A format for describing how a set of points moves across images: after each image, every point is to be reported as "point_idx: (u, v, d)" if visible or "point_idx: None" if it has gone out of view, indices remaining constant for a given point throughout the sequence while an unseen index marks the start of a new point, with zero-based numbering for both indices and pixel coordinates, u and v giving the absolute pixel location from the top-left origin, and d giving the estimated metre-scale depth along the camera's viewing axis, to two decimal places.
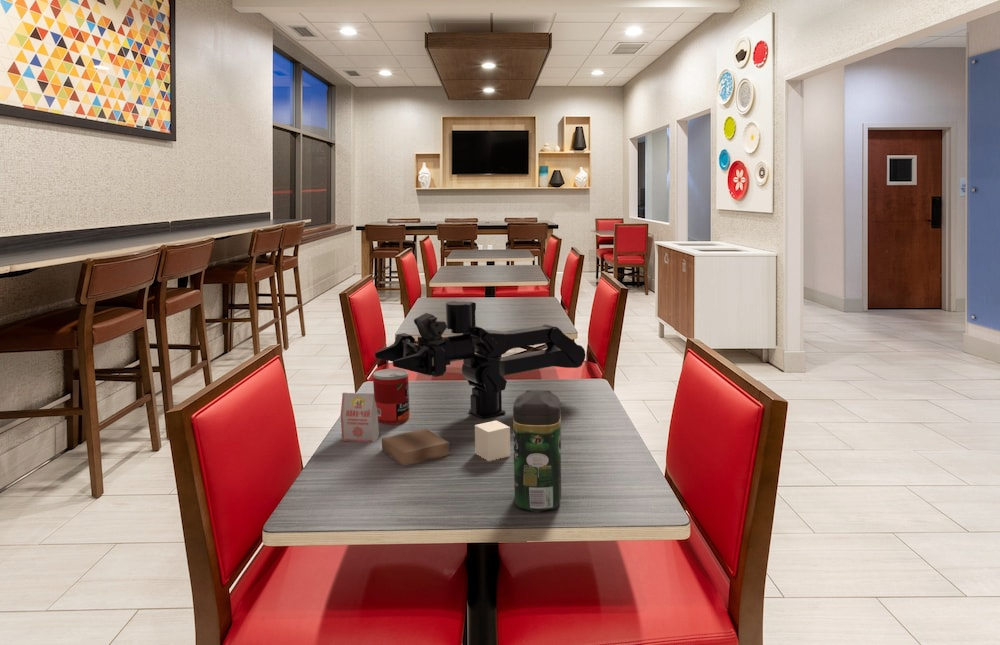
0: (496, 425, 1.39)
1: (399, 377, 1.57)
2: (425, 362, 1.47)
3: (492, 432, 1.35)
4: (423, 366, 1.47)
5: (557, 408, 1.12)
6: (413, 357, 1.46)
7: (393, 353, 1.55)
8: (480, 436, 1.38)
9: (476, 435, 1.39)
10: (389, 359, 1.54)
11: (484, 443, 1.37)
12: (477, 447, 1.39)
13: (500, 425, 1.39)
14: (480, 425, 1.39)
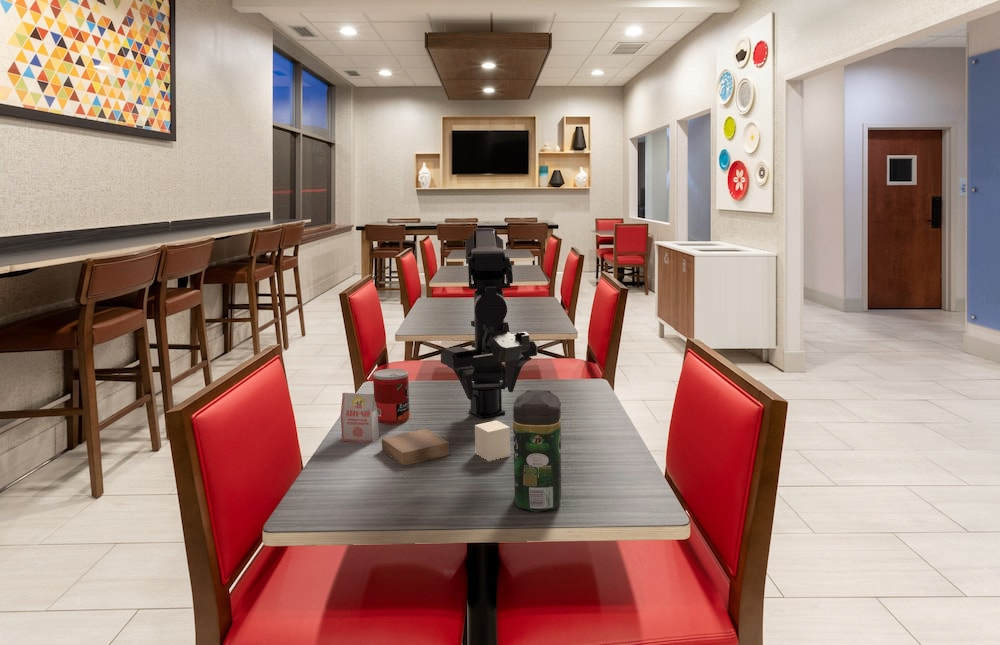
0: (496, 425, 1.39)
1: (399, 377, 1.57)
2: None
3: (492, 432, 1.35)
4: None
5: (557, 408, 1.12)
6: None
7: None
8: (480, 436, 1.38)
9: (476, 435, 1.39)
10: None
11: (484, 443, 1.37)
12: (477, 447, 1.39)
13: (500, 425, 1.39)
14: (480, 425, 1.39)
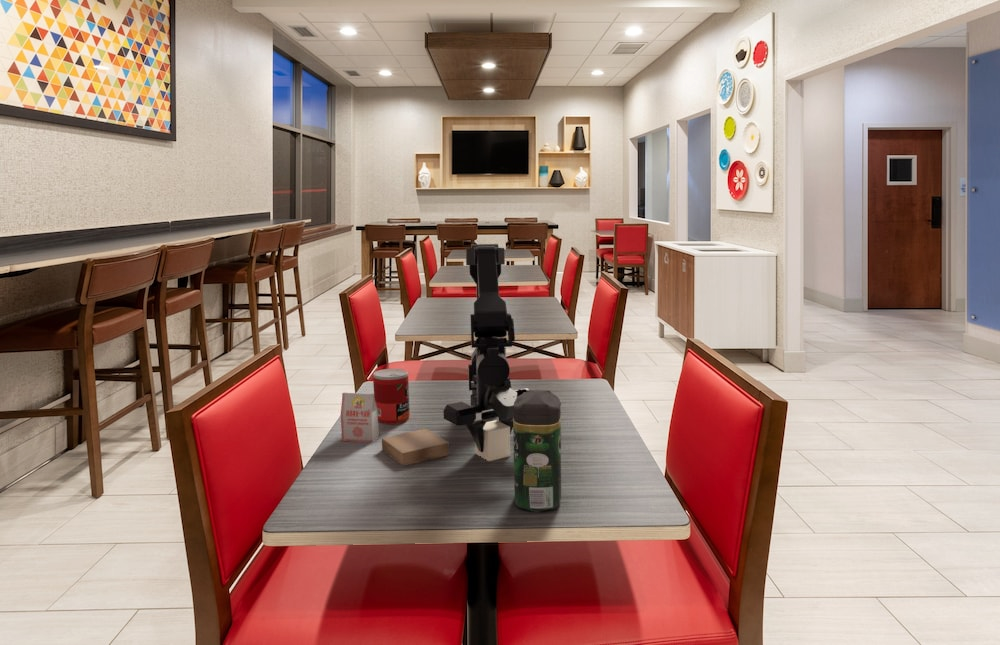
0: (496, 425, 1.39)
1: (399, 377, 1.57)
2: None
3: (492, 432, 1.35)
4: None
5: (557, 408, 1.12)
6: None
7: None
8: None
9: None
10: None
11: (484, 443, 1.37)
12: None
13: (500, 424, 1.39)
14: None
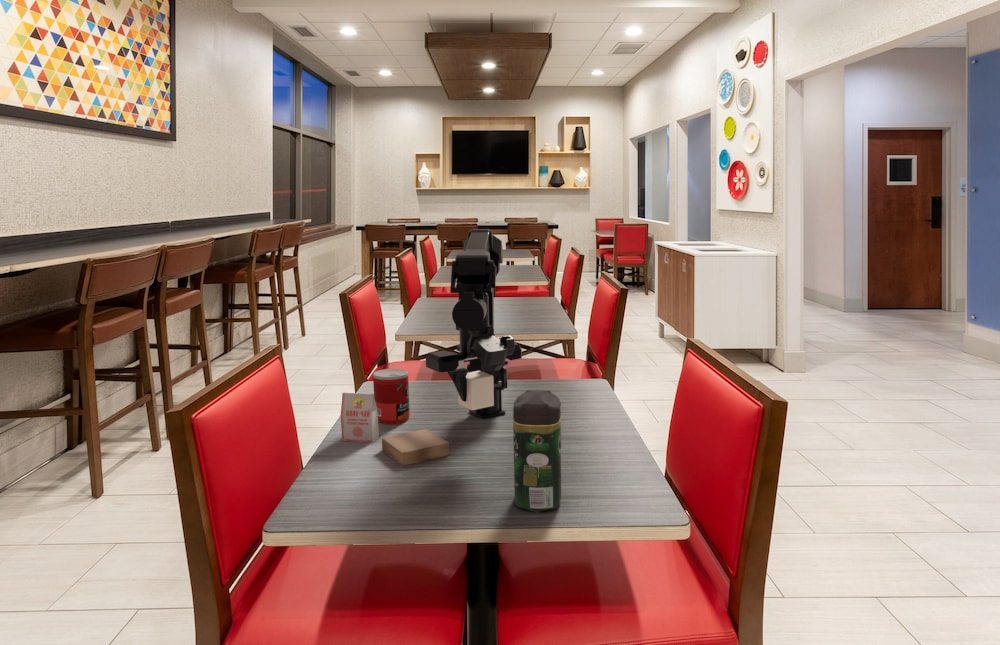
0: (479, 374, 1.37)
1: (399, 377, 1.57)
2: None
3: (475, 380, 1.34)
4: None
5: (557, 408, 1.12)
6: None
7: None
8: None
9: None
10: None
11: (467, 392, 1.35)
12: None
13: (483, 374, 1.37)
14: None
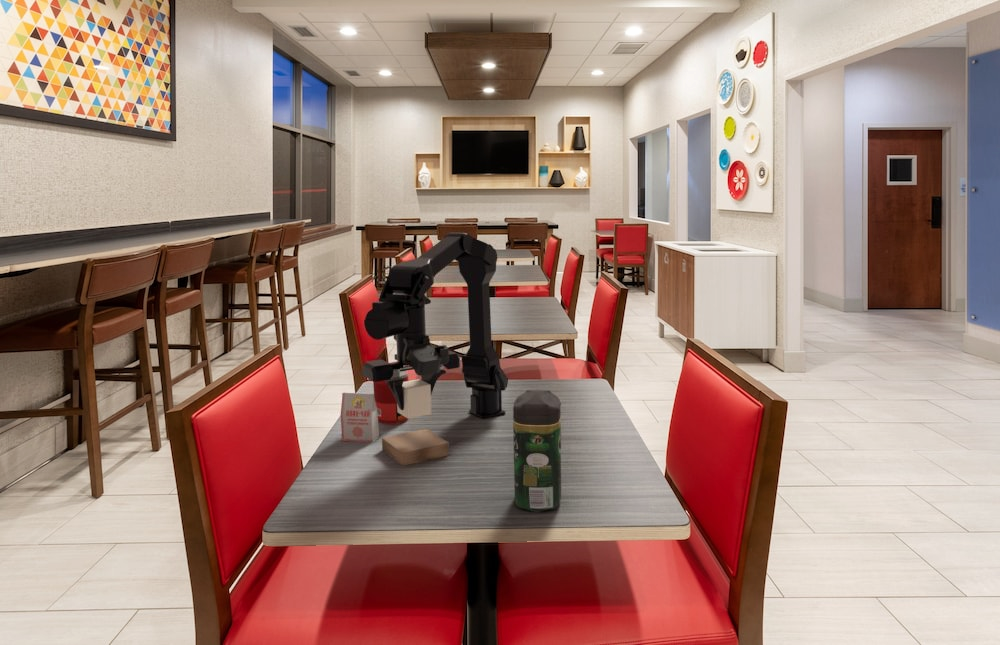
0: (417, 383, 1.39)
1: None
2: None
3: (412, 389, 1.36)
4: None
5: (557, 408, 1.12)
6: None
7: None
8: None
9: None
10: None
11: (404, 400, 1.37)
12: None
13: (421, 383, 1.39)
14: None
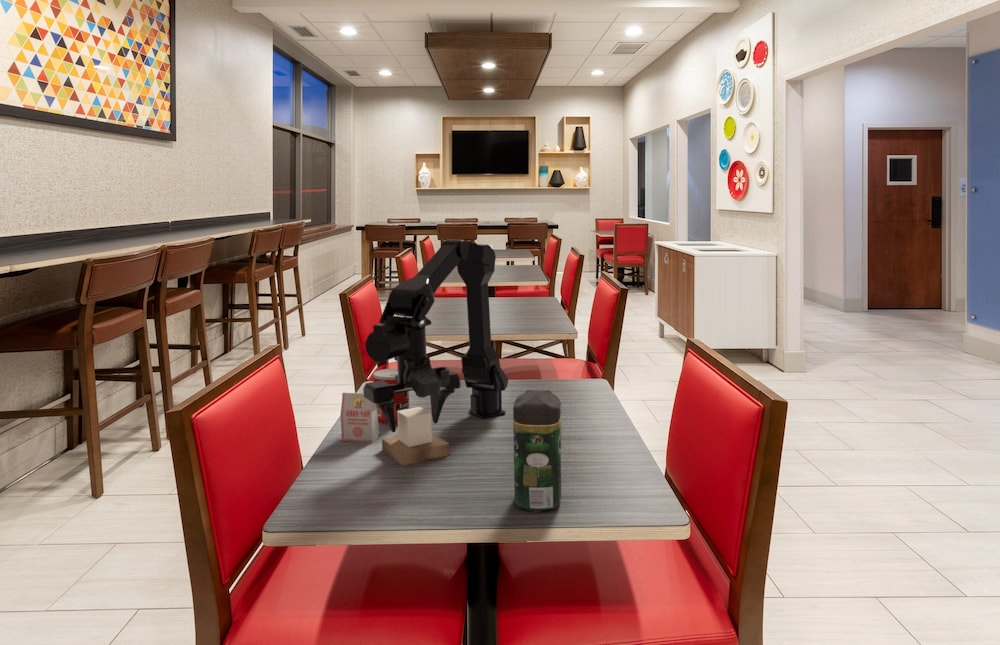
0: (418, 411, 1.40)
1: None
2: None
3: (412, 418, 1.37)
4: None
5: (557, 408, 1.12)
6: None
7: None
8: (401, 422, 1.39)
9: (398, 421, 1.40)
10: None
11: (404, 429, 1.38)
12: (399, 433, 1.40)
13: (421, 411, 1.40)
14: (402, 411, 1.40)
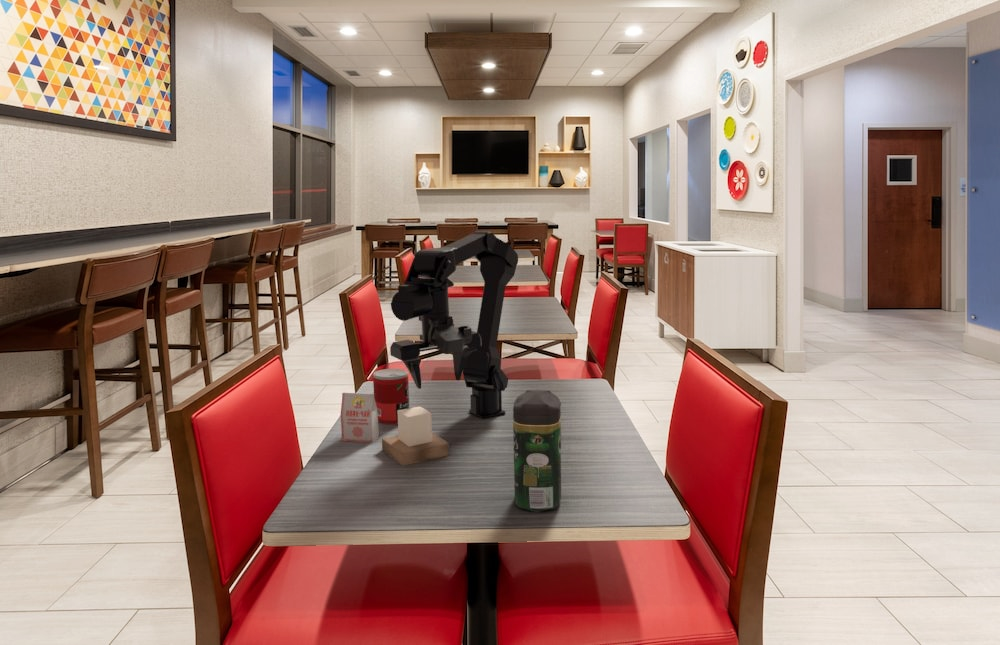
0: (418, 411, 1.40)
1: (399, 377, 1.57)
2: None
3: (412, 417, 1.37)
4: None
5: (557, 408, 1.12)
6: None
7: None
8: (401, 422, 1.39)
9: (399, 421, 1.40)
10: None
11: (405, 428, 1.38)
12: (400, 432, 1.41)
13: (422, 410, 1.40)
14: (402, 410, 1.40)
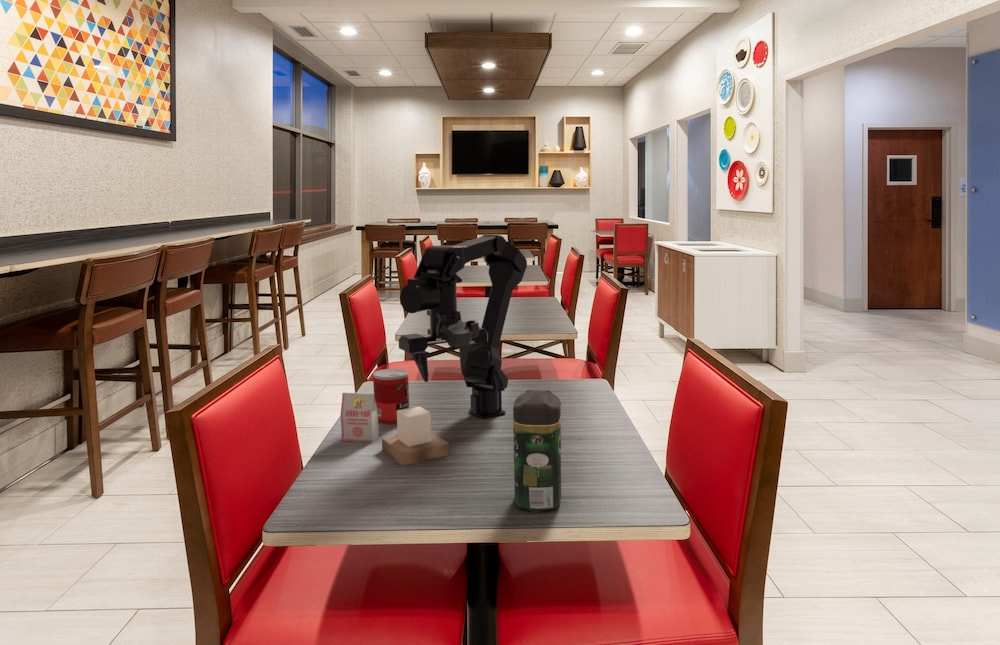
0: (417, 411, 1.40)
1: (399, 377, 1.57)
2: None
3: (412, 417, 1.37)
4: None
5: (557, 408, 1.12)
6: None
7: None
8: (401, 422, 1.39)
9: (398, 421, 1.40)
10: None
11: (404, 428, 1.38)
12: (399, 432, 1.41)
13: (421, 410, 1.40)
14: (402, 411, 1.40)
